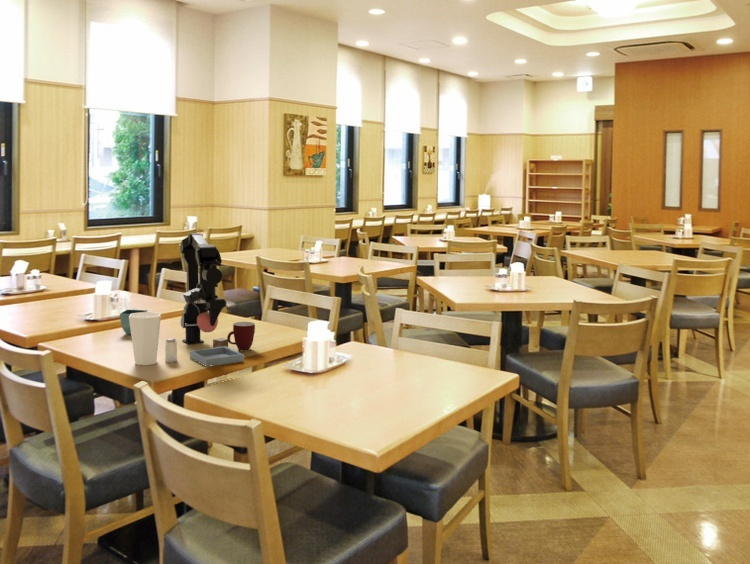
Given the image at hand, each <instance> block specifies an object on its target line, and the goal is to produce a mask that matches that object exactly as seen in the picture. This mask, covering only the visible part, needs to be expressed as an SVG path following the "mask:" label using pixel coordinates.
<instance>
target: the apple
mask: <svg viewBox="0 0 750 564" xmlns="http://www.w3.org/2000/svg"><path fill="white" fill-rule="evenodd" d="M206 311H207V310H206ZM218 323H219V317H218V318H217V320H216V322H215V324H214V326H211V324H210V317H209V311H208V312H204V313H201V314H200V315H199V316H198V317H197V324H198V327H199V328H200V332H204V333H211V332H213V331H215V330H216V329H217V326H218Z"/></svg>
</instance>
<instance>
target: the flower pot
mask: <svg viewBox="0 0 750 564" xmlns="http://www.w3.org/2000/svg"><path fill="white" fill-rule="evenodd" d="M140 312H149V310H148V309H147V310H146V309H144V310H143V309H125V310H124V311H122V312H120V313H119V319H120V325H121V328H122V330H123V332H124V333H125V334H126V335H131V330H130V323H129V316H130V314H132V313H140Z"/></svg>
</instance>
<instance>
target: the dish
mask: <svg viewBox="0 0 750 564" xmlns="http://www.w3.org/2000/svg"><path fill="white" fill-rule="evenodd" d="M191 358H192V359H191ZM189 359H191V360H193V359H194V360H196V361H198V362H200V363H202V364H204V365H206V366H210V365H217V366H222V365H228V364H236V363H242V362H244V354H243V353H241V352H240V351H237V350H234V349H232V348H230V347H229V346H228V347H226V346H223V347H216V348H213V347H211V348H210V347H209V348H202V349H201V348H200V349H194V350H189ZM194 360H193V361H194ZM196 361H195V362H196ZM198 362H197V363H198ZM200 363H199V364H200ZM202 364H201V365H202ZM204 365H203V366H204ZM206 366H205V367H206ZM210 367H211V366H210Z"/></svg>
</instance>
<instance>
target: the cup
mask: <svg viewBox="0 0 750 564" xmlns="http://www.w3.org/2000/svg"><path fill="white" fill-rule="evenodd" d="M161 317H162V313H161V312H155V311H154V312H153V311H148V312H140V313H132V314H130V316H129V323H130V330H131V334H130V337H131V342H132V350H133V356H134V363H135V365H136V366H150V365H155V364H157V360H158V351H159V348H158V347H159V340H160V330H161V329H160V328H161Z"/></svg>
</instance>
